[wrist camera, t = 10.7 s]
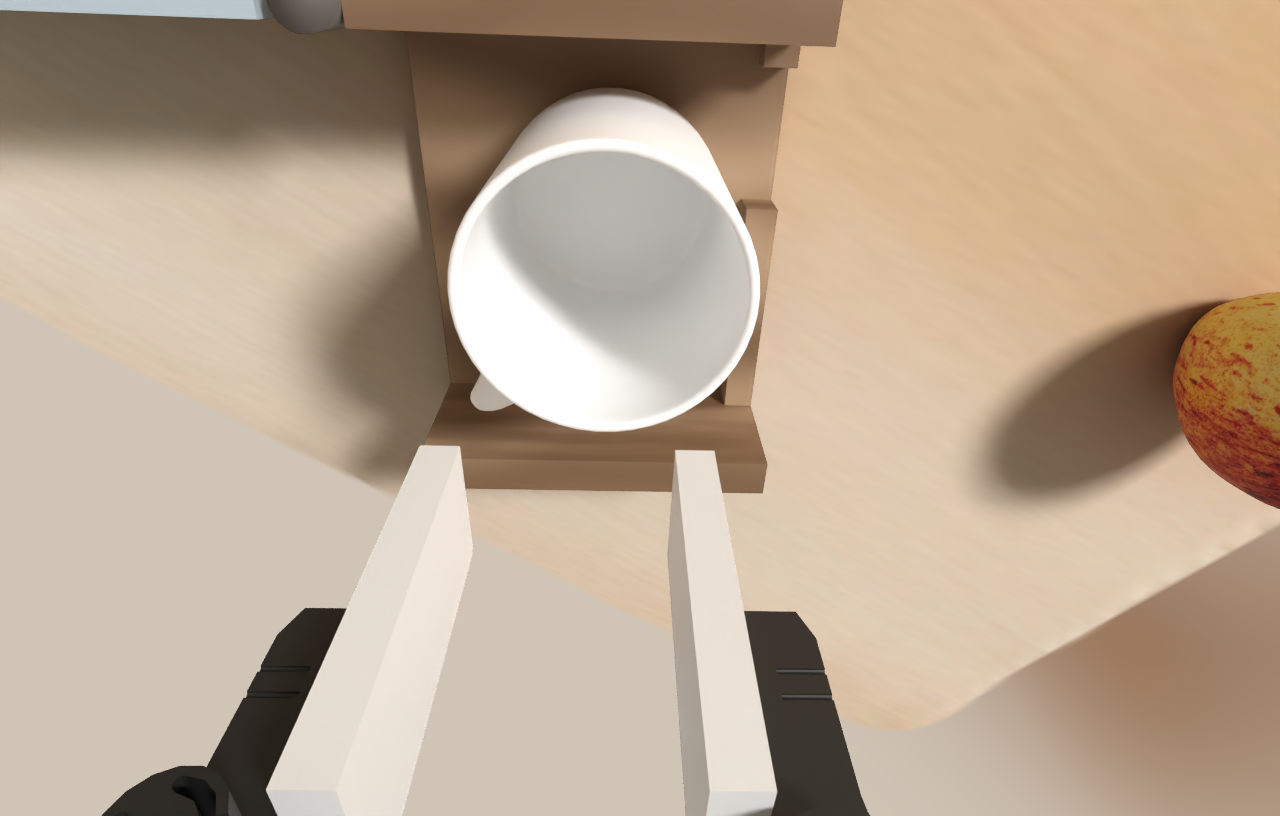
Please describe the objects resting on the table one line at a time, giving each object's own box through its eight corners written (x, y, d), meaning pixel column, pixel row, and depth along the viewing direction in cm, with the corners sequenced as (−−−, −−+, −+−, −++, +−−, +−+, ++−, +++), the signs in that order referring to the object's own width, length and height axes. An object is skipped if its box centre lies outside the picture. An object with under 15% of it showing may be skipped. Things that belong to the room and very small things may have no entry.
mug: (417, 264, 29) (323, 392, 20) (601, 28, 25) (586, 56, 16) (572, 382, 33) (551, 537, 23) (761, 192, 28) (825, 294, 19)
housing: (360, -33, 25) (258, -38, 18) (793, -16, 25) (855, -14, 18) (426, 398, 34) (376, 502, 27) (739, 405, 35) (766, 509, 28)
